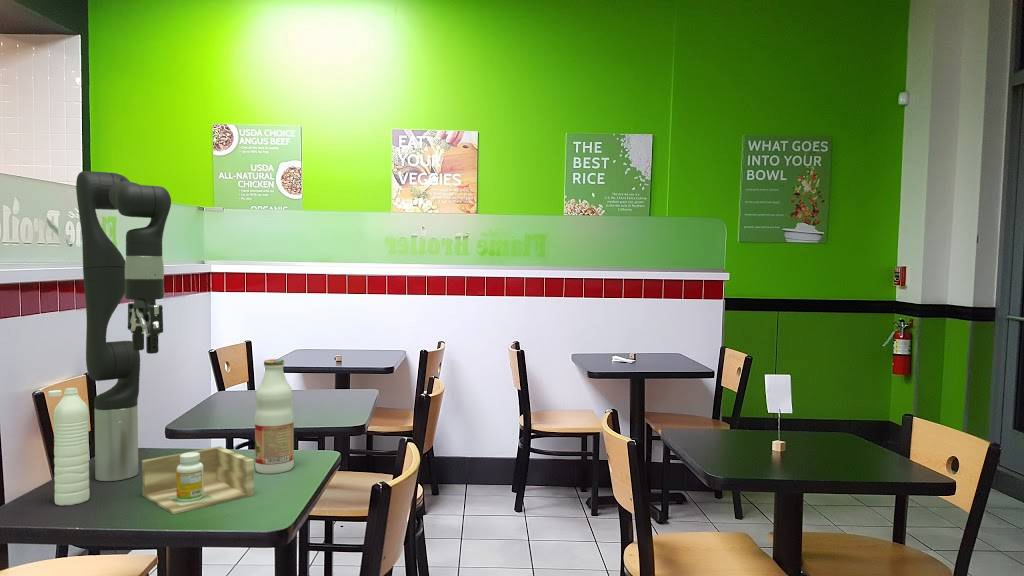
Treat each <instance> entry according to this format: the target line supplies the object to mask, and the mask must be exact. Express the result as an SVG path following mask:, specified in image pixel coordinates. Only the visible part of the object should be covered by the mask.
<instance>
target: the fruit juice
mask: <svg viewBox="0 0 1024 576" xmlns="http://www.w3.org/2000/svg"><path fill="white" fill-rule="evenodd" d="M263 365H264V366H263V367H264V369H265V370H264V375H263V377H262V380H261V382H260V385H259V386H258V387H257V389H256V391H255V395H254V396H255V397H254V398H255V402H256V405H257V407H256V410H255V413H254V469H255V471H256V472H257V473H259V474H265V475H267V474H269V475H272V474H274V475H275V474H279V473H285V472H288V471H291V470H292V469H293V468H294V465H295V455H294V454H295V449H294V448H295V446H294V444H295V443H294V442H295V441H294V439H295V436H294V435H295V434H294V433H295V432H294V431H295V429H294V427H295V425H294V422H295V417H294V416H295V415H294V410H293V407H292V401H293V399H294V392H293V391H294V390H293V388H292V387H291V385H290V384H289V383H288V380H287V379H286V375H285V373H284V367H285V359H282V358H271V359H270V358H269V359H265V360H264V362H263Z"/></svg>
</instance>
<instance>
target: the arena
mask: <svg viewBox="0 0 1024 576" xmlns="http://www.w3.org/2000/svg"><path fill="white" fill-rule="evenodd" d="M190 452H197V453H200V460H199V462H200V463H202V464H203V482H204V495H203V497H202V498H201V499H199V500H196V501H190V502H181V501H178V500H177V476H176V471H177V467H178V465H180V464H181V462H180V455H181V454H184V453H190ZM141 465H142V466H141V467H142V470H141V471H142V472H141V473H142V477H141V478H142V483H141V484H142V497H145V499H147V500H148V501H151V502H152V503H154V504H155V505H157V506H159V507H160V508H162V509H163V510H165V511H167V512H168V513H170V514H171V515H177V514H181V513H184V512H188V511H193V510H197V509H198V510H199V509H201V508H206V507H210V506H213V505H214V506H215V505H219V504H222V503H227V502H232V501H235V500H239V499H243V498H249V497H251V496H254V495H255V459H253V458H250V457H247V456H244V455H242V454H240V453H237V452H235V451H232V450H230V449H227V448H225V447H223V446H214V447H208V448H204V449H197V450H192V451H187V452H180V453H176V454H175V453H174V454H171V455H163V456H160V457H158V456H157V457H152V458H148V459H143V460H141Z"/></svg>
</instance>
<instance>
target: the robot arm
mask: <svg viewBox="0 0 1024 576" xmlns="http://www.w3.org/2000/svg"><path fill="white" fill-rule="evenodd" d="M75 191H76V201H77V208H78V216H79V223H80V230H81V231H80V232H81V241H82V242H81V243H82V244H81V245H82V247H81V248H82V249H81V250H82V274H83V276H82V277H83V286H84V287H83V288H84V297H85V309H86V310H85V313H86V332H85V333H86V334H85V335H86V339H85V340H86V341H85V342H86V343H85V361H86V362H85V363H86V364H85V365H86V371H87V373H88V376H89V378H90V380H93V381H95V382H101V381H111V380H117V382H116V384H114V385H113V386H112V387H111V388H110V389H108V390H106V391H104V392H102V393H100V394H98V395H96V396H95V398H94V455H95V456H94V471H95V472H94V473H95V477H94V478H95V480H96V481H101V482H113V481H120V480H127V479H130V478H132V477H136V476H137V475H138V474H139V433H138V432H139V421H138V420H139V419H138V418H139V417H138V406H139V405H138V403H139V402H138V399H139V396H140V395H139V393H140V377H141V376H140V374H141V353H140V351H144V350H145V348H146V350H145V351H146V354H149V355H150V354H151V355H152V354H158V352H159V336H160V335H161V334H162V333H163V332H164V317H163V316H164V315H163V313H164V311H163V305H162V304H157V302H156V301H157V300H161V299H164V298H165V276H164V274H165V272H164V271H165V268H164V261H163V260H164V258H163V237H164V231H165V227H166V223H167V220H168V216H169V213H170V211H171V210H170V209H171V206H172V205H171V204H172V198H171V197H172V196H171V195H170V193H169V191H168V190H167V189H166V187H163V186H161V185H147V184H140V183H137V182H134V181H130V179H128V178H127V177H126V176H125V175H122V174H119V173H117V172H109V171H108V172H106V171H94V170H93V171H92V170H91V171H90V170H82V171H80V172H79V173H78V174H77V176H76V183H75ZM96 210H109V211H111V210H112V211H115V210H117V211H118V213H119V214H120V215H122V216H124V217H129V218H145V219H146V218H147V219H150V222H149V223H148V225H146V226H144V227H137V228H132V229H129V230H127V231H126V232H125V233H126V234H125V258H124V255H123V254H122V253H121V251H120V250H119V249H118V247H117V246H116V245H115V244H114V242H113V241H112V240H111V239H110V238H109V237H108V235H107V234H106V232H105V231H104V229H103V227H102V226H101V224H100V221H99V219H98V215H97V211H96ZM124 297H125V299H126V300H132V301H133V300H134V301H133V302H129V303H128V304H127V330H129V331H130V334H131V338H132V339H131V340H119V341H118V340H117V341H107V331H108V325H109V323H110V319H111V318H112V315H113V314H114V312H115V311H116V309H117V308H118V306H119V304H120V303H121V301H122V300H123V298H124ZM144 332H145V333H144ZM145 346H146V347H145Z"/></svg>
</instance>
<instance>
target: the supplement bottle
mask: <svg viewBox="0 0 1024 576" xmlns="http://www.w3.org/2000/svg"><path fill="white" fill-rule="evenodd" d="M189 452H190V453H186V452H183V453H184V454H181V455H180V462H181V464H180V465H178V467H177V471H176V476H177V500H178V501H181V502H190V501H196V500H199V499H201V498H202V497H203V495H204V482H203V464H202V463H200V462H199V460H200V453H197V452H191V451H189Z"/></svg>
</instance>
